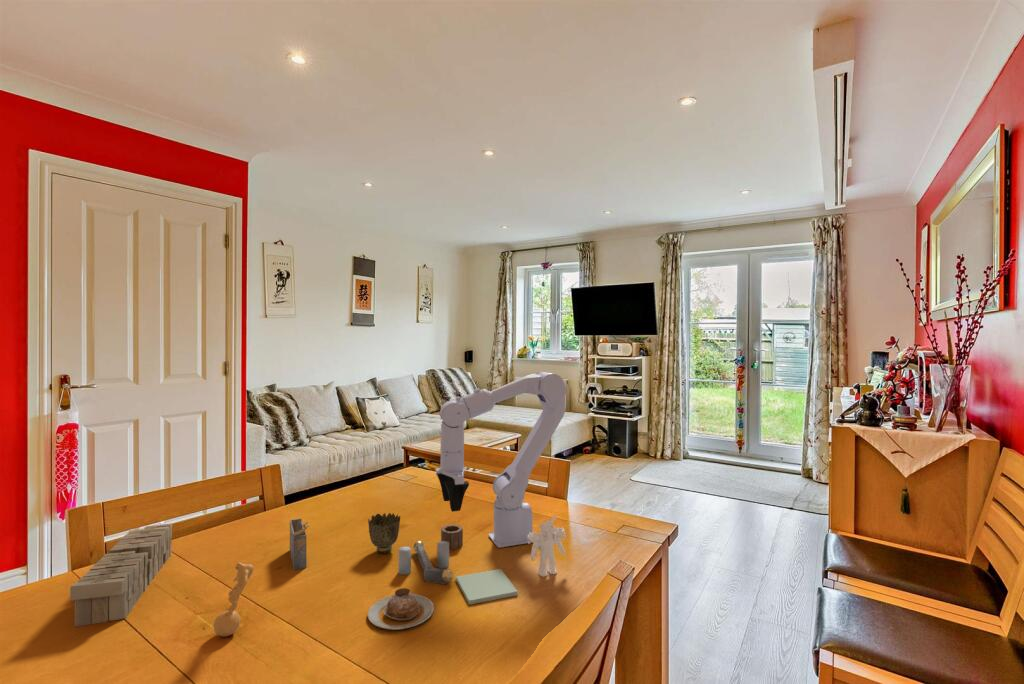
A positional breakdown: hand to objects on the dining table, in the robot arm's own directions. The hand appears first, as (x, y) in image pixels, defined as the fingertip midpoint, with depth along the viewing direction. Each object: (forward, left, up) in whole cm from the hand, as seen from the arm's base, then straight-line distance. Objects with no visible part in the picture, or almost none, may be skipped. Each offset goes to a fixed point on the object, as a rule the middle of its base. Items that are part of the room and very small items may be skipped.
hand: (451, 505), depth 121 cm
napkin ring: (0, 0, -10) cm, 10 cm away
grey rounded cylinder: (+13, +10, -10) cm, 19 cm away
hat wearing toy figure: (-16, +21, -10) cm, 28 cm away
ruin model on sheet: (+35, -5, -10) cm, 37 cm away
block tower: (+67, -3, -10) cm, 67 cm away
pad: (-2, +23, -10) cm, 25 cm away
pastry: (+16, +26, -10) cm, 32 cm away
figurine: (+44, +22, -10) cm, 50 cm away
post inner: (+4, +10, -10) cm, 15 cm away
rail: (+7, +10, -10) cm, 16 cm away
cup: (+16, -2, -10) cm, 19 cm away
